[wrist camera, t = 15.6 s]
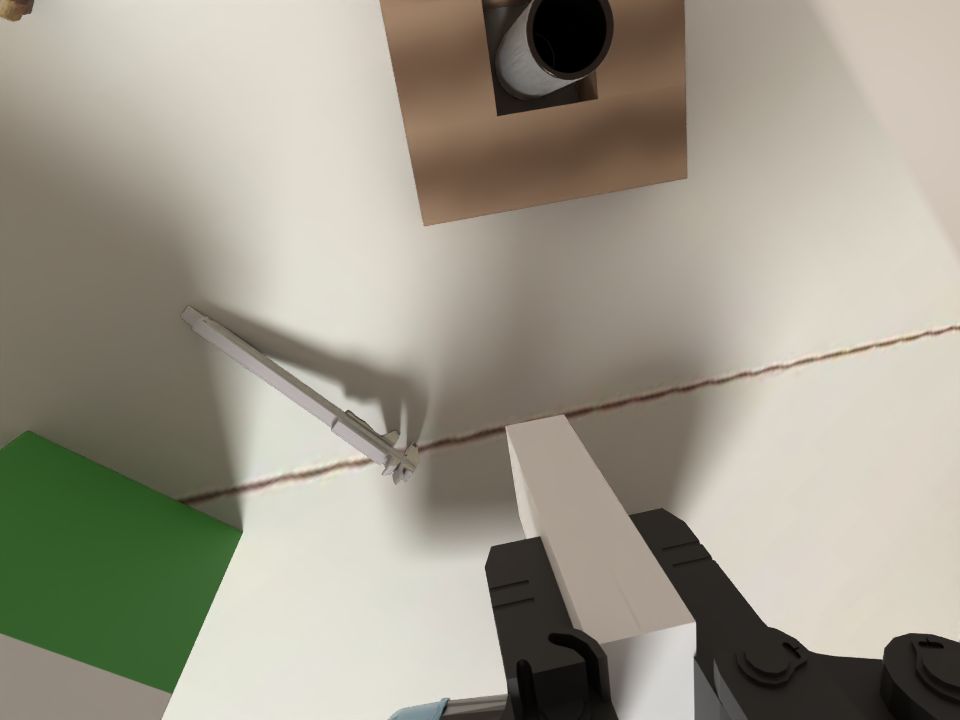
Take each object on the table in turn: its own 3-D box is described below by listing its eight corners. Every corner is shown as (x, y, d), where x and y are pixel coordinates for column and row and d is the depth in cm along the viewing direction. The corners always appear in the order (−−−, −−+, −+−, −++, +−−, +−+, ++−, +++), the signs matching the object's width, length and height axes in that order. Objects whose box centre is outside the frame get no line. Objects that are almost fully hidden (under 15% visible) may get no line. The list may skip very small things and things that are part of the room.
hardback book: (243, 531, 46) (90, 883, 24) (200, 590, 48) (19, 971, 25) (27, 430, 41) (-434, 762, 18) (-13, 500, 42) (-484, 885, 20)
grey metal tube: (480, 62, 36) (507, 27, 26) (528, 7, 35) (574, -49, 25) (526, 115, 37) (567, 101, 28) (573, 64, 37) (633, 30, 27)
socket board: (661, 176, 40) (687, 178, 36) (422, 219, 39) (424, 226, 35) (650, -127, 33) (681, -162, 30) (362, -84, 32) (357, -116, 28)
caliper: (418, 442, 45) (420, 483, 40) (410, 451, 46) (411, 494, 40) (189, 303, 39) (151, 329, 33) (182, 315, 39) (143, 342, 34)
